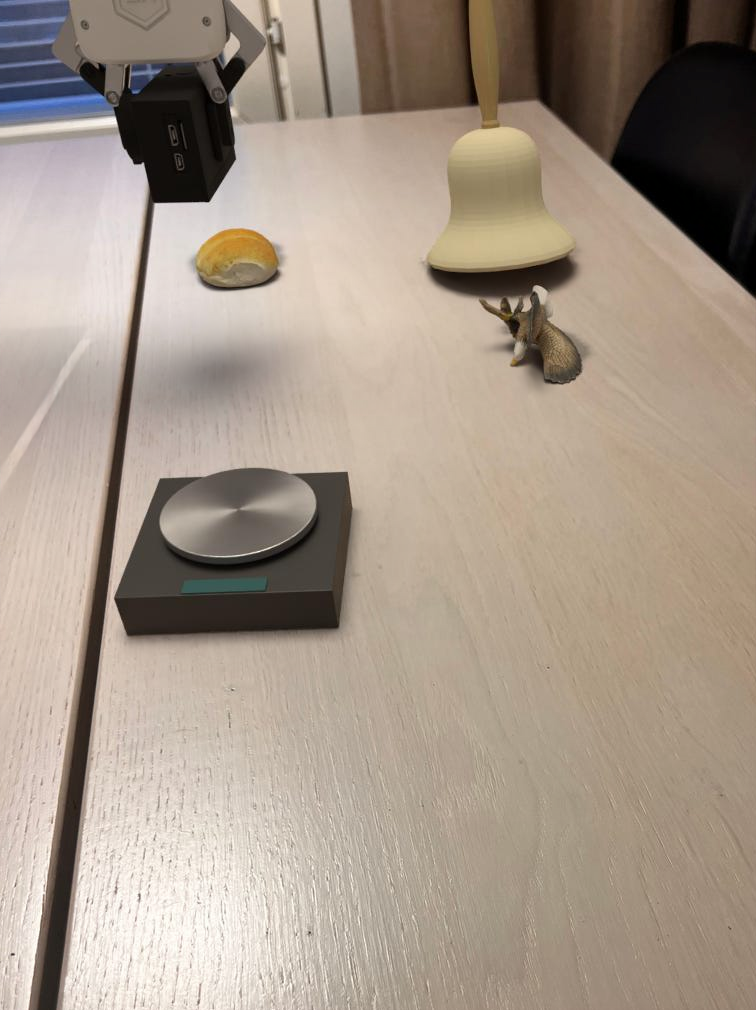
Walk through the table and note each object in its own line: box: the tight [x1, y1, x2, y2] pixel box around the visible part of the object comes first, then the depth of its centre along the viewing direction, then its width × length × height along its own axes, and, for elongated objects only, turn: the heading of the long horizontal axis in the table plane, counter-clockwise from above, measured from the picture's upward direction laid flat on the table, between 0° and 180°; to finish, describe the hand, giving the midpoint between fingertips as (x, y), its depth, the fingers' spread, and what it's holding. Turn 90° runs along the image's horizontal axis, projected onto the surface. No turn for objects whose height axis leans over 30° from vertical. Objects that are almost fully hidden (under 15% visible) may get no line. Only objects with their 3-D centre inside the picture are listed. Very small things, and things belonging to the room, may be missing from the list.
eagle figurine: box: [478, 285, 583, 384], centre depth 84 cm, size 8×7×9 cm
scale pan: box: [159, 467, 318, 564], centre depth 63 cm, size 10×10×1 cm
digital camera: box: [118, 64, 237, 204], centre depth 74 cm, size 10×5×7 cm, turn 179°
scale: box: [113, 471, 353, 636], centre depth 64 cm, size 13×13×3 cm
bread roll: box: [195, 227, 280, 288], centre depth 101 cm, size 8×9×4 cm
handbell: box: [425, 0, 577, 273], centre depth 95 cm, size 15×15×25 cm
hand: (182, 155), depth 75 cm, fingers closed on digital camera, 5 cm apart
